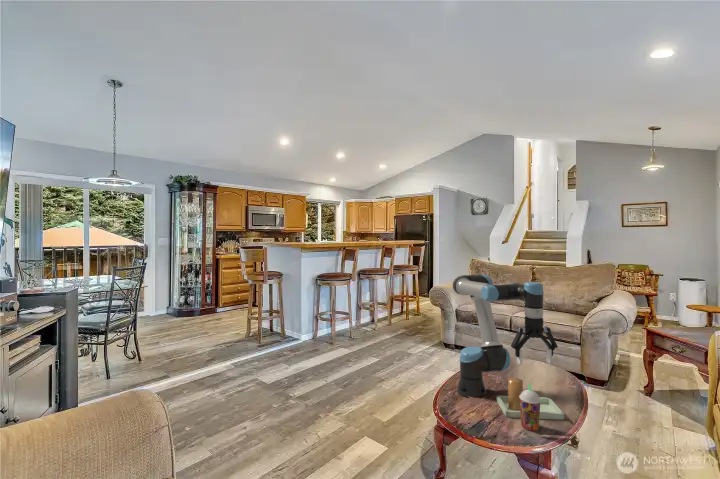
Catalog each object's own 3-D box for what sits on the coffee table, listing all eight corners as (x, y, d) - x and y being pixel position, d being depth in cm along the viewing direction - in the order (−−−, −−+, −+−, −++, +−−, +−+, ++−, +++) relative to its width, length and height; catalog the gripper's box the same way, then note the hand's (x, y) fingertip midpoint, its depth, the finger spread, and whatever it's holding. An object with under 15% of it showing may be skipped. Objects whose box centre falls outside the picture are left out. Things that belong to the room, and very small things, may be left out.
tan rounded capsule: (510, 412, 160) (510, 383, 160) (506, 405, 167) (506, 377, 166) (524, 412, 159) (524, 383, 159) (520, 405, 166) (519, 377, 166)
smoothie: (531, 436, 142) (531, 389, 142) (515, 426, 150) (515, 382, 150) (545, 431, 146) (545, 386, 145) (528, 422, 153) (528, 378, 153)
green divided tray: (506, 419, 156) (506, 411, 156) (496, 402, 171) (496, 395, 171) (564, 421, 153) (564, 414, 153) (549, 404, 169) (549, 397, 168)
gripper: (510, 319, 148) (511, 367, 148) (566, 318, 149) (566, 365, 149) (502, 315, 155) (503, 361, 156) (555, 314, 156) (556, 359, 156)
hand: (534, 363), depth 152 cm, fingers open, 13 cm apart
